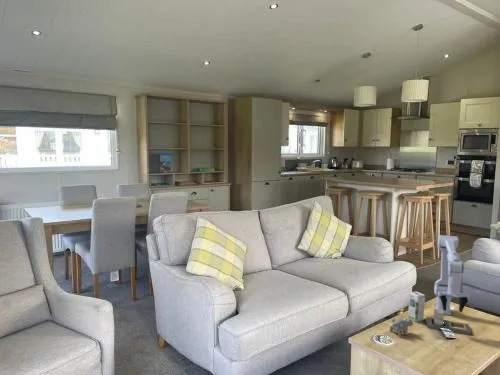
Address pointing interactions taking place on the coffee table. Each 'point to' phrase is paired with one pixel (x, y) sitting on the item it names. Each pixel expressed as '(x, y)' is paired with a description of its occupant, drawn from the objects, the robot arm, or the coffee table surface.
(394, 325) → the gray elephant figurine
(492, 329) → the coffee table surface
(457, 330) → the rail
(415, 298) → the syrup box
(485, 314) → the coffee table surface
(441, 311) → the peg
